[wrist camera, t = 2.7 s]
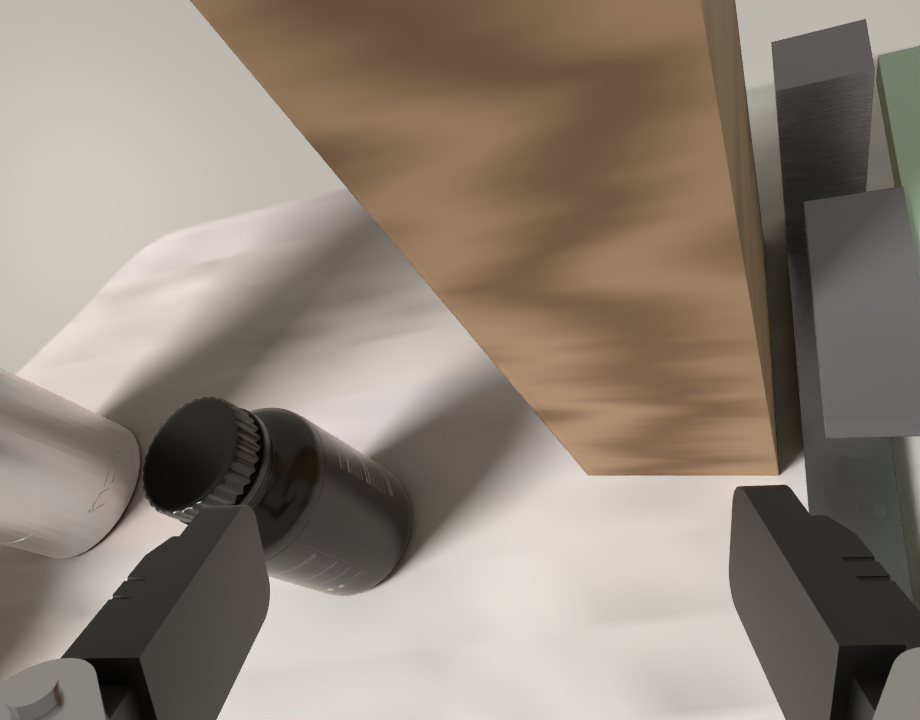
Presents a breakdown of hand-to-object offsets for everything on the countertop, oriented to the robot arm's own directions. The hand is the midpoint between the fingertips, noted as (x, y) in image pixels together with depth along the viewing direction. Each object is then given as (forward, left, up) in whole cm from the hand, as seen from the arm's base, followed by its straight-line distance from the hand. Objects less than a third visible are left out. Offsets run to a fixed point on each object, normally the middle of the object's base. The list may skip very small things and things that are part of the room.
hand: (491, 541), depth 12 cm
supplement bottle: (-16, +5, -19) cm, 26 cm away
